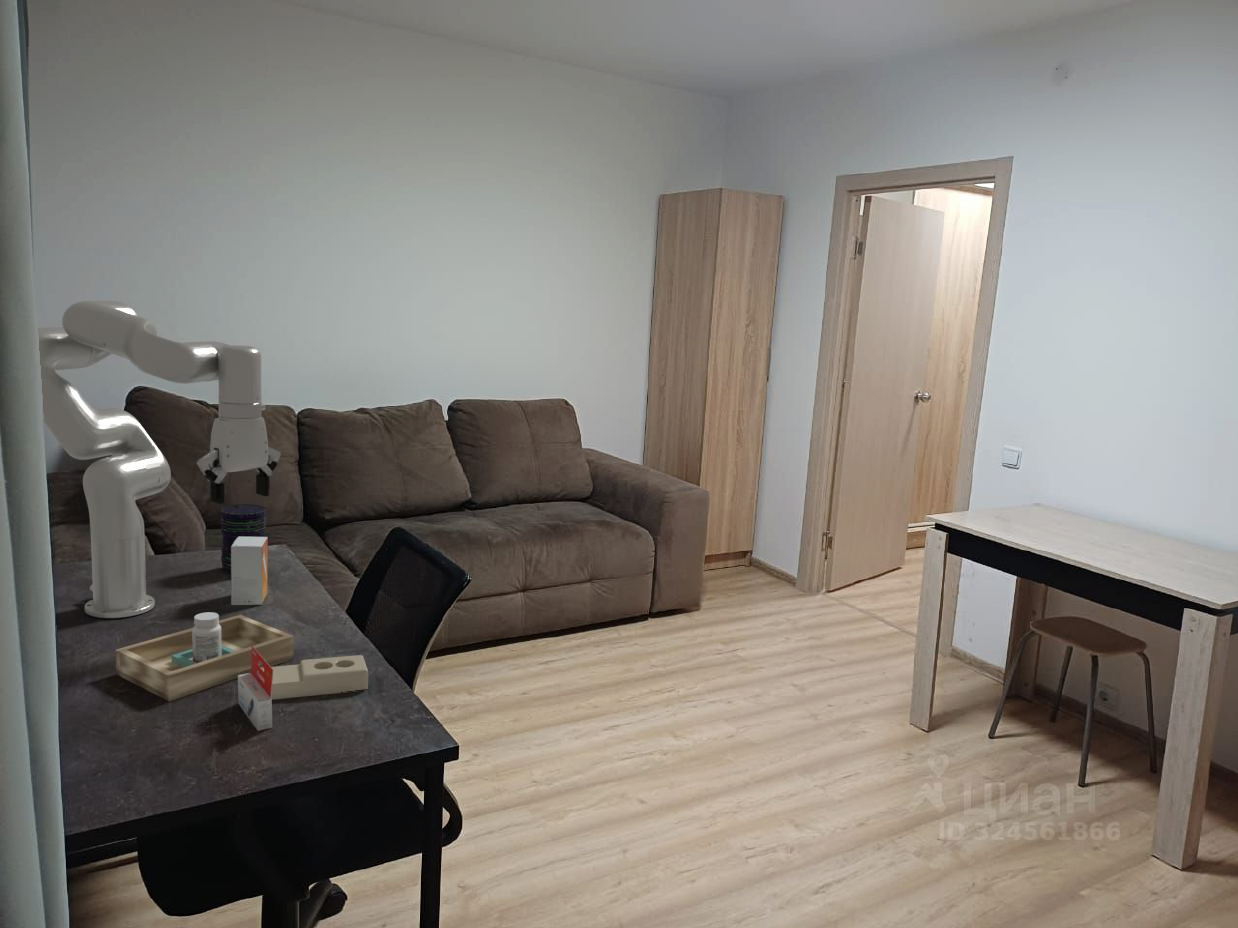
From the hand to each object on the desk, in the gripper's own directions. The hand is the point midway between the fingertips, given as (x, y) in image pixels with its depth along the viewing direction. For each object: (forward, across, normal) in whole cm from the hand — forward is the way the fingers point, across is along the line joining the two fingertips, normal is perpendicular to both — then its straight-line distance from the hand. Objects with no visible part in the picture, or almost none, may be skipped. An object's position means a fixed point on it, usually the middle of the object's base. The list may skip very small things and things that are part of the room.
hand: (240, 498), depth 178 cm
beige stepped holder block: (+27, +8, +32) cm, 43 cm away
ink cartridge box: (+27, +21, +34) cm, 48 cm away
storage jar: (+26, -22, -31) cm, 46 cm away
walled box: (+26, +15, +12) cm, 33 cm away
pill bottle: (+26, +15, +12) cm, 32 cm away
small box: (+26, -11, -13) cm, 32 cm away
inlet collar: (+26, +15, +12) cm, 33 cm away
